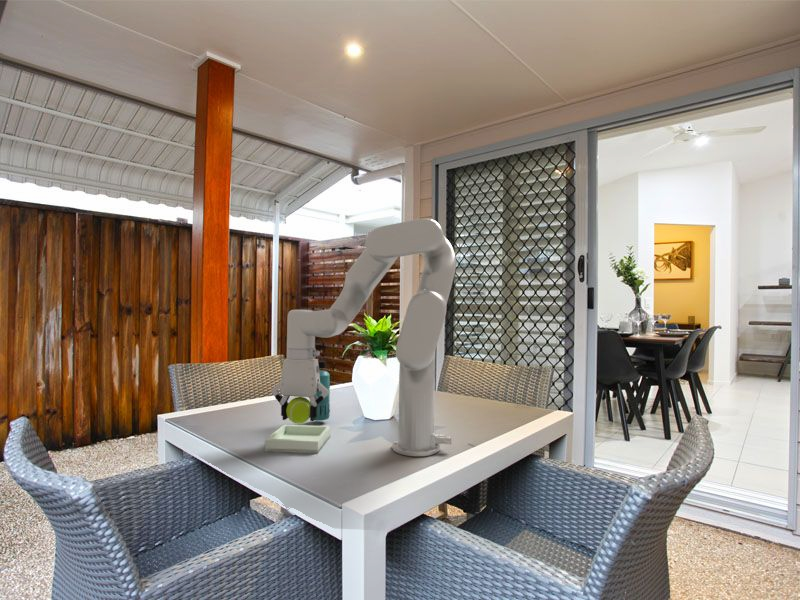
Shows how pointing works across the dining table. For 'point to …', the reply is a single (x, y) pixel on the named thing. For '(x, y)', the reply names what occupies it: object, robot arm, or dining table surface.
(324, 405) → the beverage bottle
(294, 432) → the tray
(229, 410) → the dining table surface
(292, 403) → the tennis ball
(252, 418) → the dining table surface
